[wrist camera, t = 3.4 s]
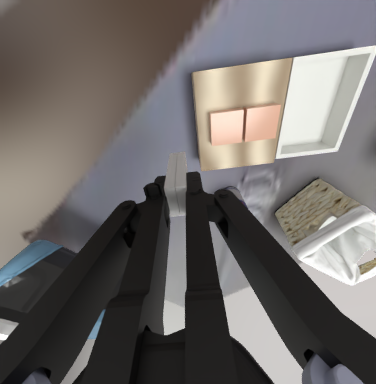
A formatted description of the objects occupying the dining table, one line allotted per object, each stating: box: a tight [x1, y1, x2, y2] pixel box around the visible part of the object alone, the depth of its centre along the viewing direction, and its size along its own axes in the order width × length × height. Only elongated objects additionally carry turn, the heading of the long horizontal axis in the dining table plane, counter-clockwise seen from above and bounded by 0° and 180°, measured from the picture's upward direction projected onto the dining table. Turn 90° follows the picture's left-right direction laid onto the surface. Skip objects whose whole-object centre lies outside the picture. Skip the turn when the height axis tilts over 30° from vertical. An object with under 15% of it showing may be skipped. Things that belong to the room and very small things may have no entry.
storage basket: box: [275, 179, 376, 285], centre depth 42 cm, size 24×16×15 cm
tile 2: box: [209, 108, 244, 146], centre depth 28 cm, size 5×5×2 cm
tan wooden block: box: [191, 58, 292, 171], centre depth 31 cm, size 14×16×6 cm
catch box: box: [275, 45, 376, 159], centre depth 31 cm, size 12×16×4 cm
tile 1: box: [242, 103, 281, 142], centre depth 27 cm, size 5×5×2 cm
